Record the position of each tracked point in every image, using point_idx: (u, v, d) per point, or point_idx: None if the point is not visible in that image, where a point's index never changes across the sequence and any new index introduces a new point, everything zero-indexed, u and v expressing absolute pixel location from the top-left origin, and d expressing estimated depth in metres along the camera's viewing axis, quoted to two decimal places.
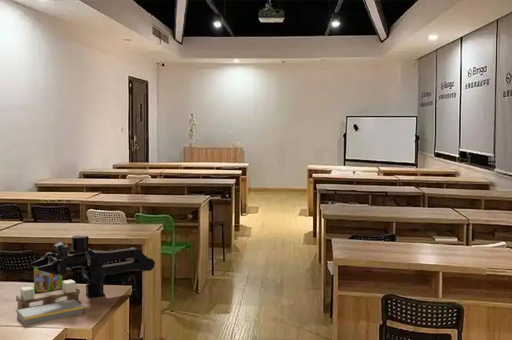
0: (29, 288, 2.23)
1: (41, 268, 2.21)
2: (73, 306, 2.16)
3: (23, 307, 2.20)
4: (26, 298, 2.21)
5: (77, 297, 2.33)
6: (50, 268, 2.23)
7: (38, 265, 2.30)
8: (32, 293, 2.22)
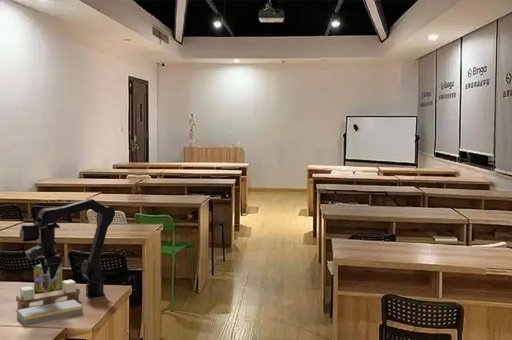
0: (29, 288, 2.23)
1: (52, 275, 2.24)
2: (73, 306, 2.16)
3: (23, 307, 2.20)
4: (26, 298, 2.21)
5: (77, 297, 2.33)
6: (53, 268, 2.24)
7: (47, 267, 2.32)
8: (32, 293, 2.22)
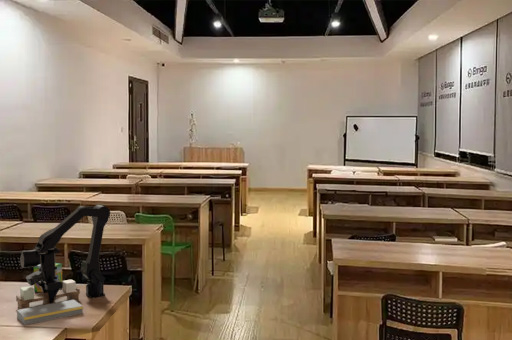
0: (29, 288, 2.23)
1: (51, 300, 2.26)
2: (73, 306, 2.16)
3: (23, 307, 2.20)
4: (26, 298, 2.21)
5: (77, 297, 2.33)
6: (52, 292, 2.25)
7: None
8: (32, 293, 2.22)
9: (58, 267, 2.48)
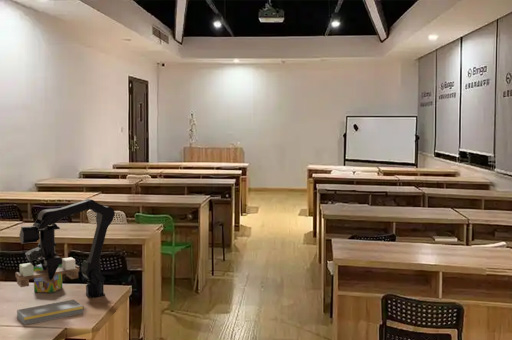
0: (28, 264, 2.22)
1: (51, 276, 2.25)
2: (73, 306, 2.16)
3: (22, 283, 2.19)
4: (25, 274, 2.20)
5: (77, 274, 2.32)
6: (52, 269, 2.25)
7: None
8: (31, 269, 2.21)
9: (58, 267, 2.48)
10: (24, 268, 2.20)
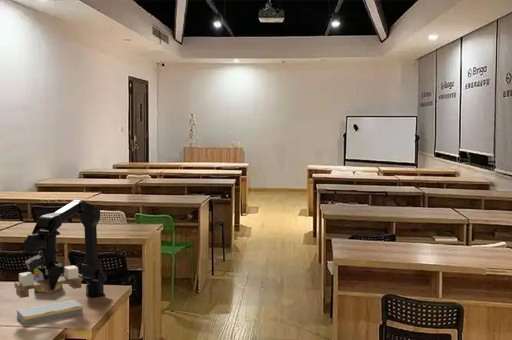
0: (28, 274, 2.08)
1: (52, 286, 2.11)
2: (73, 306, 2.16)
3: (22, 294, 2.05)
4: (25, 284, 2.06)
5: (80, 284, 2.18)
6: (53, 278, 2.11)
7: None
8: (32, 279, 2.07)
9: None
10: (24, 277, 2.06)
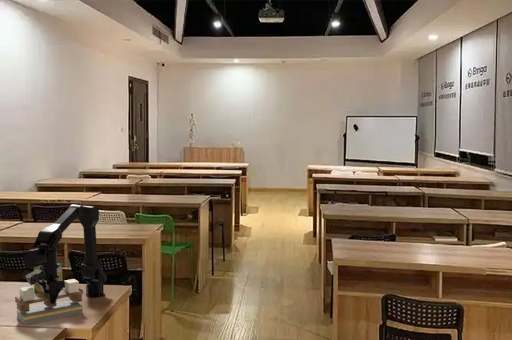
0: (29, 288, 2.09)
1: (53, 300, 2.12)
2: (73, 306, 2.16)
3: (23, 309, 2.05)
4: (26, 299, 2.06)
5: (80, 298, 2.19)
6: (54, 292, 2.11)
7: None
8: (32, 294, 2.08)
9: None
10: (24, 292, 2.06)
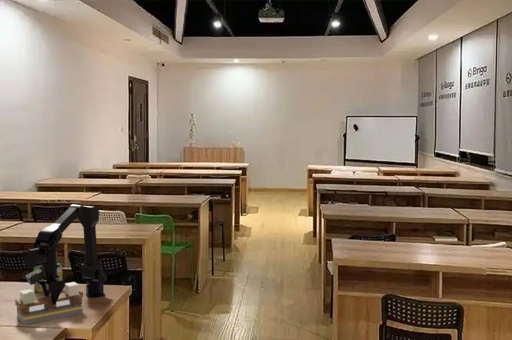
0: (29, 291, 2.09)
1: (54, 301, 2.10)
2: (73, 306, 2.16)
3: (23, 312, 2.06)
4: (26, 302, 2.07)
5: (80, 301, 2.19)
6: (55, 293, 2.10)
7: (48, 291, 2.18)
8: (32, 297, 2.08)
9: (58, 267, 2.48)
10: (24, 295, 2.06)
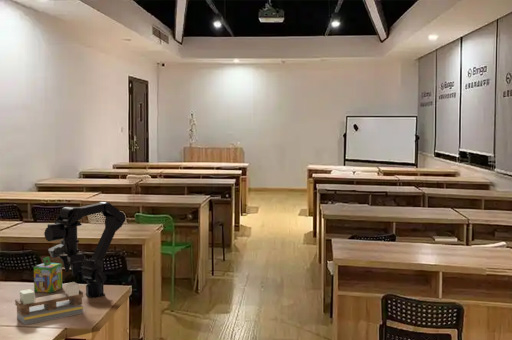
0: (29, 291, 2.09)
1: (74, 273, 2.26)
2: (73, 306, 2.16)
3: (23, 312, 2.06)
4: (26, 302, 2.07)
5: (80, 301, 2.19)
6: (76, 266, 2.25)
7: (69, 265, 2.34)
8: (32, 297, 2.08)
9: (58, 267, 2.48)
10: (24, 295, 2.06)
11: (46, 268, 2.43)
